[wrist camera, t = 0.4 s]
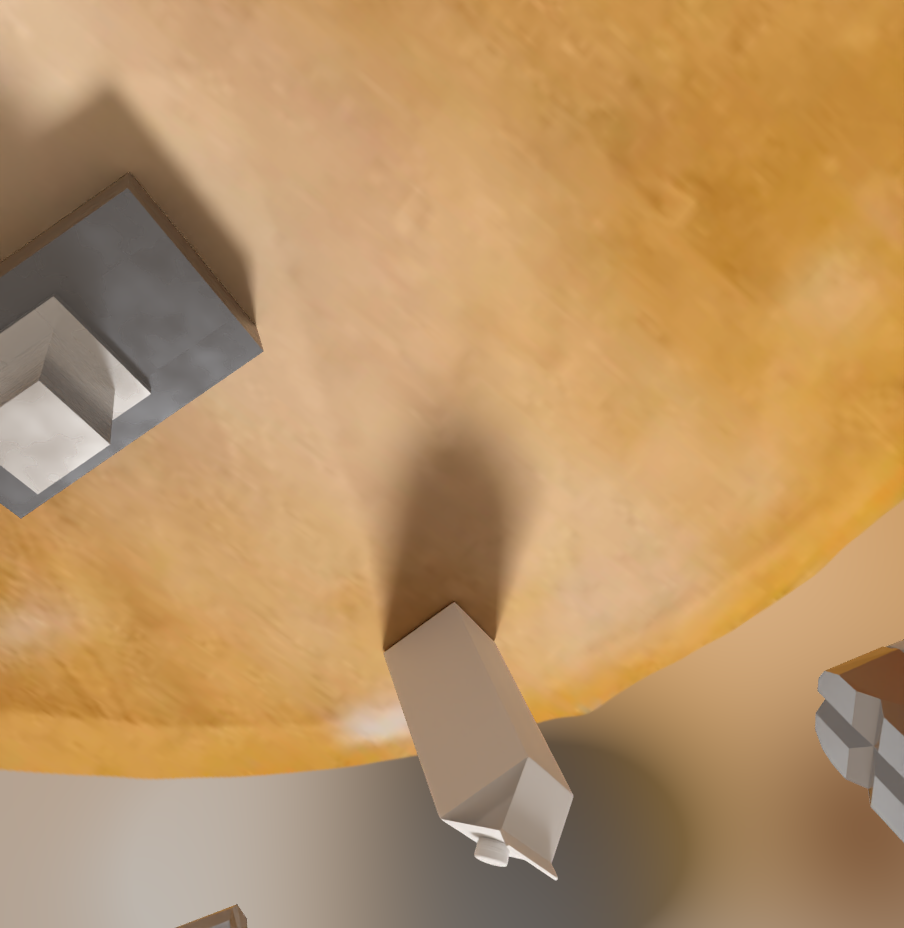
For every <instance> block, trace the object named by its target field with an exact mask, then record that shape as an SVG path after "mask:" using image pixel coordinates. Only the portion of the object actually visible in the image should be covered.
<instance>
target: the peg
mask: <svg viewBox="0 0 904 928" xmlns="http://www.w3.org/2000/svg"><path fill="white" fill-rule="evenodd" d="M150 394H151V388H150V387H149V386H148V385H147V384H146V383H145V382H144V381H143V380H142V379H141V378H140V377H139V376H138V375H137V374H136V373H135V372H134V371H133V370H132V369H131V368H130V367H129V366H128V365H127V364H126V363H125V362H124V361H123V360H122V359H121V358H120V357H119V356H118V355H117V354H116V353H115V352H114V351H113V350H112V349H111V348H110V347H109V346H108V345H107V344H106V343H105V342H104V341H103V340H102V339H101V338H100V337H99V336H98V335H97V334H96V333H95V332H94V331H93V330H92V329H91V328H90V327H89V326H88V325H87V324H86V323H85V322H84V321H83V320H82V319H81V318H80V317H79V316H78V315H77V314H76V313H75V312H74V311H73V310H72V309H71V308H70V307H69V306H68V305H67V304H66V303H65V302H64V301H63V300H62V299H61V298H60V297H59V296H58V295H57V294H56V293H55V292H54V293H53V294H51V295H50V296H49V297H47V298H46V299H44V300H43V301H41V302H40V303H39V304H37V305H36V306H34V307H33V308H31V309H30V310H29V311H27V312H26V313H24V314H23V315H22V316H20V317H19V318H17V319H16V320H14V321H13V322H12V323H10V324H9V325H7V326H6V327H4V328H3V329H2V330H0V465H1V466H2V467H3V468H5V469H6V470H7V471H8V472H10V473H11V474H12V475H14V476H15V477H16V478H17V479H19V480H20V481H21V482H23V483H24V484H25V485H26V486H28V487H29V488H30V489H32V490H33V491H34V492H35V493H37V494H39V493H41V492H42V491H43V490H45V489H46V488H48V487H49V486H51V485H52V484H54V483H55V482H56V481H58V480H59V479H61V478H62V477H64V476H65V475H67V474H68V473H70V472H71V471H72V470H74V469H75V468H77V467H78V466H80V465H81V464H83V463H84V462H85V461H87V460H88V459H90V458H91V457H93V456H94V455H96V454H97V453H99V452H100V451H101V450H103V449H104V448H106V447H107V446H109V445H110V440H111V429H112V420H114V419H115V418H117V417H118V416H120V415H121V414H123V413H124V412H125V411H127V410H128V409H130V408H131V407H133V406H134V405H136V404H137V403H138V402H140V401H141V400H143V399H144V398H146V397H147V396H149V395H150Z"/></svg>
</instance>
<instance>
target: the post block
mask: <svg viewBox="0 0 904 928" xmlns="http://www.w3.org/2000/svg"><path fill="white" fill-rule="evenodd" d="M54 292H55V293H56V294H57V295H58V296H59V297H60V298H61V299H62V300H63V301H64V302H65V303H66V304H67V305H68V306H69V307H70V308H71V309H72V310H73V311H74V312H75V313H76V314H77V315H78V316H79V317H80V318H81V319H82V320H83V321H84V322H85V323H86V324H87V325H88V326H89V327H90V328H91V329H92V330H93V331H94V332H95V333H96V334H97V335H98V336H99V337H100V338H101V339H102V340H103V341H104V342H105V343H106V344H107V345H108V346H109V347H110V348H111V349H112V350H113V351H114V352H115V353H116V354H117V355H118V356H119V357H120V358H121V359H122V360H123V361H124V362H125V363H126V364H127V365H128V366H129V367H130V368H131V369H132V370H133V371H134V372H135V373H136V374H137V375H138V376H139V377H140V378H141V379H142V380H143V381H144V382H145V383H146V384H147V385H148V386H149V387H150V388H151V394H150V395H149V396H147V397H146V398H144V399H143V400H141V401H140V402H138V403H137V404H136V405H134V406H133V407H131V408H130V409H128V410H127V411H125V412H124V413H123V414H121V415H120V416H118V417H117V418H115V419H114V420H112V429H111V440H110V445H109V446H107V447H106V448H104V449H103V450H101V451H100V452H99V453H97V454H96V455H94V456H93V457H91V458H90V459H88V460H87V461H85V462H84V463H83V464H81V465H80V466H78V467H77V468H75V469H74V470H72V471H71V472H70V473H68V474H67V475H65V476H64V477H62V478H61V479H59V480H58V481H56V482H55V483H54V484H52V485H51V486H49V487H48V488H46V489H45V490H43V491H42V492H41V493H39V494H37V493H35V492H34V491H33V490H32V489H30V488H29V487H28V486H26V485H25V484H24V483H23V482H21V481H20V480H19V479H17V478H16V477H15V476H14V475H12V474H11V473H10V472H8V471H7V470H6V469H5V468H3V467H2V466H1V465H0V503H1V504H2V505H3V506H5V507H6V508H7V509H9V510H10V511H11V512H13V513H14V514H15V515H17V516H18V517H19V518H22V517H24V516H25V515H27V514H28V513H30V512H31V511H33V510H34V509H36V508H37V507H38V506H40V505H41V504H43V503H44V502H46V501H47V500H49V499H50V498H51V497H53V496H54V495H56V494H57V493H59V492H60V491H62V490H63V489H65V488H66V487H67V486H69V485H70V484H72V483H73V482H75V481H76V480H78V479H79V478H80V477H82V476H83V475H85V474H86V473H88V472H89V471H91V470H92V469H94V468H95V467H96V466H98V465H99V464H101V463H102V462H104V461H105V460H107V459H108V458H109V457H111V456H112V455H114V454H115V453H117V452H118V451H120V450H121V449H123V448H124V447H125V446H127V445H128V444H130V443H131V442H133V441H134V440H136V439H137V438H138V437H140V436H141V435H143V434H144V433H146V432H147V431H149V430H150V429H152V428H153V427H154V426H156V425H157V424H159V423H160V422H162V421H163V420H165V419H166V418H167V417H169V416H170V415H172V414H173V413H175V412H176V411H178V410H179V409H181V408H182V407H183V406H185V405H186V404H188V403H189V402H191V401H192V400H194V399H195V398H196V397H198V396H199V395H201V394H202V393H204V392H205V391H207V390H208V389H210V388H211V387H212V386H214V385H215V384H217V383H218V382H220V381H221V380H223V379H224V378H225V377H227V376H228V375H230V374H231V373H233V372H234V371H236V370H237V369H239V368H240V367H241V366H243V365H244V364H246V363H247V362H249V361H250V360H252V359H253V358H254V357H256V356H257V355H259V354H260V353H262V352H263V348H262V344H261V341H260V337H259V334H258V331H257V327H256V326H255V325H254V323H253V322H252V321H251V320H250V318H249V317H248V316H247V315H246V314H245V312H244V311H243V310H242V309H241V307H240V306H239V305H238V304H237V303H236V301H235V300H234V299H233V298H232V296H231V295H230V294H229V293H228V292H227V290H226V289H225V288H224V287H223V285H222V284H221V283H220V282H219V281H218V279H217V278H216V277H215V276H214V274H213V273H212V272H211V271H210V270H209V268H208V267H207V266H206V265H205V263H204V262H203V261H202V260H201V259H200V257H199V256H198V255H197V254H196V252H195V251H194V250H193V249H192V248H191V246H190V245H189V244H188V243H187V242H186V240H185V239H184V238H183V237H182V235H181V234H180V233H179V232H178V231H177V229H176V228H175V227H174V226H173V224H172V223H171V222H170V221H169V220H168V218H167V217H166V216H165V215H164V213H163V212H162V211H161V210H160V209H159V207H158V206H157V205H156V204H155V202H154V201H153V200H152V199H151V198H150V196H149V195H148V194H147V193H146V191H145V190H144V189H143V188H142V187H141V185H140V184H139V183H138V182H137V180H136V179H135V178H134V177H133V176H132V174H131V173H130V172H129V173H127V174H126V175H124V176H123V177H121V178H120V179H119V180H117V181H116V182H114V183H113V184H112V185H110V186H109V187H107V188H106V189H104V190H103V191H102V192H100V193H99V194H97V195H96V196H95V197H93V198H92V199H90V200H89V201H87V202H86V203H85V204H83V205H82V206H80V207H79V208H77V209H76V210H75V211H73V212H72V213H70V214H69V215H68V216H66V217H65V218H63V219H62V220H60V221H59V222H58V223H56V224H55V225H53V226H52V227H51V228H49V229H48V230H46V231H45V232H43V233H42V234H41V235H39V236H38V237H36V238H35V239H34V240H32V241H31V242H29V243H28V244H26V245H25V246H24V247H22V248H21V249H19V250H18V251H16V252H15V253H14V254H12V255H11V256H9V257H8V258H7V259H5V260H4V261H2V262H1V263H0V330H2V329H3V328H4V327H6V326H7V325H9V324H10V323H12V322H13V321H14V320H16V319H17V318H19V317H20V316H22V315H23V314H24V313H26V312H27V311H29V310H30V309H31V308H33V307H34V306H36V305H37V304H39V303H40V302H41V301H43V300H44V299H46V298H47V297H49V296H50V295H51V294H53V293H54Z"/></svg>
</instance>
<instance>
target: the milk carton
mask: <svg viewBox="0 0 904 928" xmlns="http://www.w3.org/2000/svg"><path fill="white" fill-rule="evenodd" d="M384 657H385V660H386V663H387V666H388V669H389V671H390V674H391V677H392V680H393V683H394V686H395V689H396V692H397V695H398V698H399V701H400V704H401V707H402V710H403V713H404V716H405V719H406V721H407V724H408V727H409V730H410V733H411V736H412V739H413V742H414V745H415V748H416V751H417V754H418V757H419V760H420V762H421V766H422V768H423V771H424V774H425V777H426V780H427V783H428V786H429V789H430V792H431V795H432V798H433V801H434V804H435V806H436V809H437V812H438V814H439V817H440V819H441V820H443V821H444V822H446V823H447V824H449V825H450V826H452V827H454V828H455V829H457V830H458V831H460V832H461V833H463V834H464V835H466V836H467V837H469V838H471V839H472V840H474V841H475V842H477V847H476V849H475V854H474V856H475V857H476V858H477V859H479V860H481V861H483V862H485V863H488V864H492V865H495V866H501V867H504V866H507V863H508V857H509V856H510V857H515V858H520V859H524V860H526V861H527V862H529V863H530V864H532V865H533V866H535V867H536V868H538V869H539V870H541V871H542V872H544V873H545V874H547V875H548V876H550V877H551V878H553V879H554V880H557V879H558V877H557V875H556V873H555V870H554V868H553V866H552V860H553V857H554V854H555V851H556V848H557V845H558V842H559V839H560V836H561V833H562V830H563V827H564V824H565V821H566V818H567V814H568V811H569V808H570V805H571V802H572V799H573V794H572V792H571V790H570V788H569V786H568V784H567V782H566V780H565V778H564V776H563V774H562V772H561V771H560V769H559V767H558V765H557V763H556V761H555V759H554V757H553V755H552V753H551V751H550V749H549V747H548V745H547V743H546V741H545V739H544V737H543V735H542V733H541V732H540V730H539V728H538V726H537V724H536V722H535V720H534V718H533V716H532V714H531V712H530V710H529V708H528V706H527V704H526V702H525V700H524V698H523V696H522V694H521V692H520V691H519V689H518V687H517V685H516V683H515V681H514V679H513V677H512V675H511V673H510V671H509V669H508V667H507V665H506V663H505V661H504V659H503V657H502V655H501V653H500V651H499V650H498V648H497V646H496V644H495V642H494V641H493V640H492V639H491V638H490V637H489V636H488V635H487V634H486V633H485V632H484V631H483V630H482V629H481V628H480V627H479V626H478V625H477V624H476V623H475V622H474V621H473V620H472V619H471V618H470V617H469V616H468V615H467V614H466V613H465V612H464V611H463V610H462V609H461V608H460V607H459V606H458V605H457V604H456V603H455V602H453V603H452V604H450V605H449V606H448V607H446V608H445V609H443V610H442V611H441V612H439V613H438V614H436V615H435V616H434V617H432V618H431V619H429V620H428V621H427V622H425V623H424V624H423V625H421V626H420V627H418V628H417V629H416V630H414V631H413V632H411V633H410V634H409V635H407V636H406V637H405V638H403V639H402V640H400V641H399V642H398V643H396V644H395V645H393V646H392V647H391V648H389V649H388V650H387V651H385V652H384Z"/></svg>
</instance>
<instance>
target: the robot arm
mask: <svg viewBox="0 0 904 928" xmlns="http://www.w3.org/2000/svg"><path fill="white" fill-rule="evenodd" d="M818 692H819V693H820V694H821V695H822V696H823V697H824V698H825V700H824V702H823V703H822V705H821V706H820V708H819V709H818V711H817V712H816V724H815V726H816V727H815V730H816V733H817V736H818V738H819V741H820V744H821V746H822V749H823V751H824V752H825V754H826V755H827V757H828V758H829V760H830V761H831V763H832V764H833V765H834V767H835V768H836V769H837V770H838V771H839V772H840V773H841V774H842V775H843V777H844V778H845V779H846V780H849V781H851V782H854V783H856V784H858V785H861V786H863V787H866V788H868V792H869V798H870V805H871V808H872V809H873V810H874V811H875V812H876V813H877V814H878V815H879V816H880V817H881V818H882V820H883V821H884V822H885V823H886V824H887V825H888V826H889V827H890V828H891V829H892V830H893V832H894V833H895V834H896V835H897V836H898V837H899V838H900V839H901V840H902V841H903V842H904V639H903V640H901V641H898V642H896V643H894V644H891V645H889V646H886V647H881V648H878V649H876V650H874V651H871V652H869V653H866V654H864V655H862V656H859V657H857V658H855V659H852V660H850V661H847V662H845V663H843V664H840V665H838V666H835V667H833V668H830V669H828V670H826V671H824V672H823V673H822V675H821V676H820V677H819V681H818ZM176 928H247V918H246V917H245V915H244V914H243V912H242V911H241V909H240V908H239V906H238V905H237V904H236V905H234V906H231V907H229V908H226V909H223V910H221V911H218V912H216V913H213V914H211V915H208V916H205V917H203V918H200V919H197V920H195V921H192V922H189V923H187V924H184V925H181V926H179V927H176Z"/></svg>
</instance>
